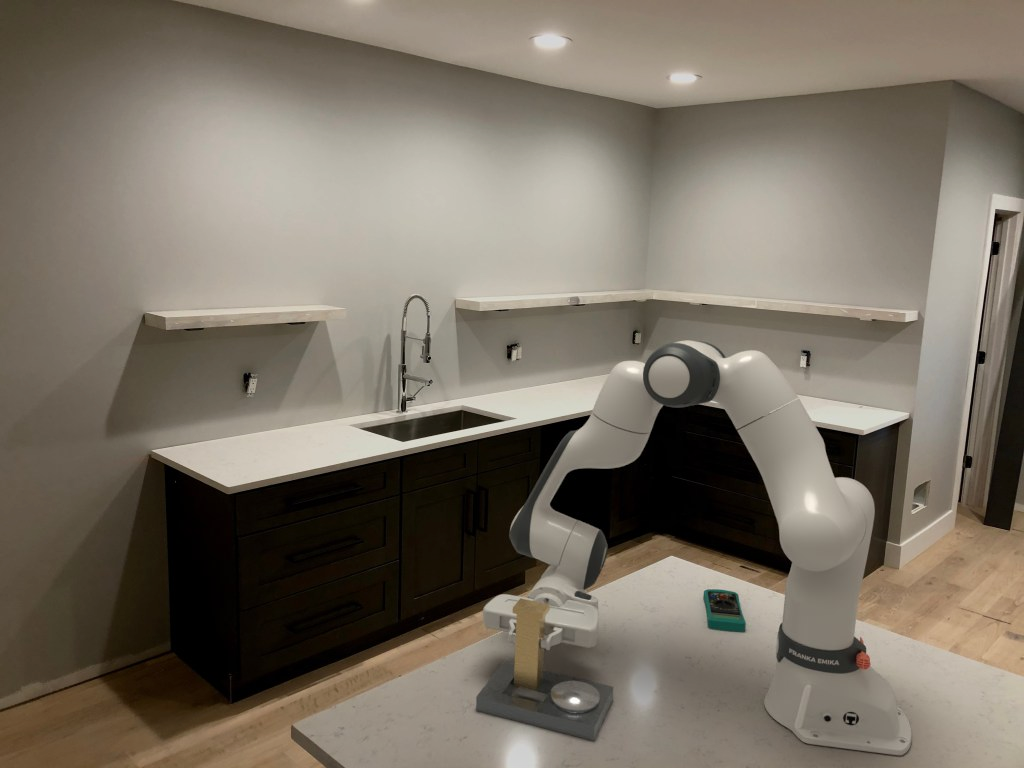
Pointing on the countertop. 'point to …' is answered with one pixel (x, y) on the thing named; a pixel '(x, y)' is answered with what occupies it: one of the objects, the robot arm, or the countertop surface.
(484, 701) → the gray socket block
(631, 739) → the countertop surface
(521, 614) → the wedge pin
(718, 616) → the digital multimeter
